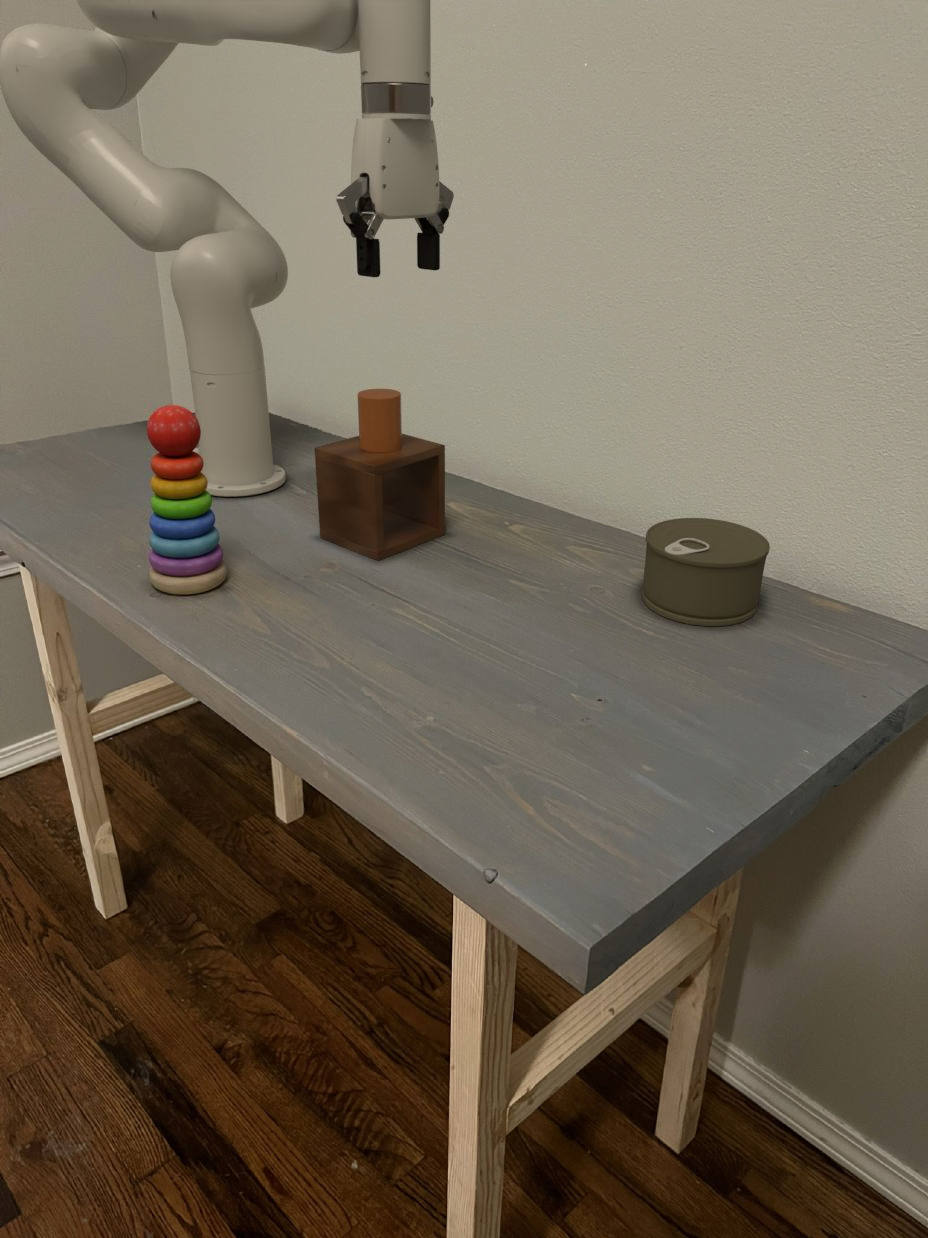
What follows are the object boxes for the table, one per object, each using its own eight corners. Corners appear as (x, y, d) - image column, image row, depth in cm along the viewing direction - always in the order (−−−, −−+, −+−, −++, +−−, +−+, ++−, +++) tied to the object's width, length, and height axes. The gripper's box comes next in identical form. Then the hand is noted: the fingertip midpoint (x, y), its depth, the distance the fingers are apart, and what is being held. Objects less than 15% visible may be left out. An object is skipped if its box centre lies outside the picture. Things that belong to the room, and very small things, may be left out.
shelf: (319, 537, 110) (314, 447, 105) (387, 514, 117) (384, 428, 112) (378, 561, 104) (374, 466, 99) (445, 534, 111) (445, 444, 106)
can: (783, 607, 94) (795, 544, 91) (705, 639, 88) (714, 573, 85) (692, 568, 103) (700, 509, 100) (615, 594, 96) (621, 533, 93)
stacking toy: (162, 604, 93) (135, 420, 85) (141, 576, 99) (113, 401, 91) (238, 587, 97) (219, 409, 89) (213, 561, 103) (193, 392, 95)
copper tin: (350, 446, 105) (348, 393, 102) (381, 437, 108) (380, 386, 105) (380, 455, 102) (378, 400, 99) (410, 446, 105) (409, 393, 103)
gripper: (426, 108, 108) (427, 264, 116) (311, 102, 97) (321, 275, 104) (475, 107, 104) (472, 269, 111) (360, 100, 92) (366, 282, 100)
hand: (399, 272), depth 108 cm, fingers open, 9 cm apart
